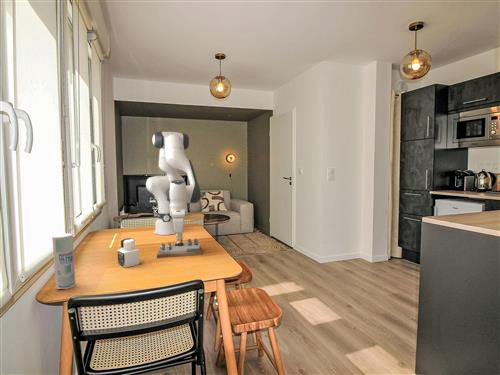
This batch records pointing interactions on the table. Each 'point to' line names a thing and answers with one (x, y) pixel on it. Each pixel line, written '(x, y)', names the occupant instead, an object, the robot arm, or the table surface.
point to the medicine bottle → (128, 253)
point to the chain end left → (169, 249)
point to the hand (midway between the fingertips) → (179, 238)
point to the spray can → (64, 260)
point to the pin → (180, 241)
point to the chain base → (179, 254)
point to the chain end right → (188, 246)
